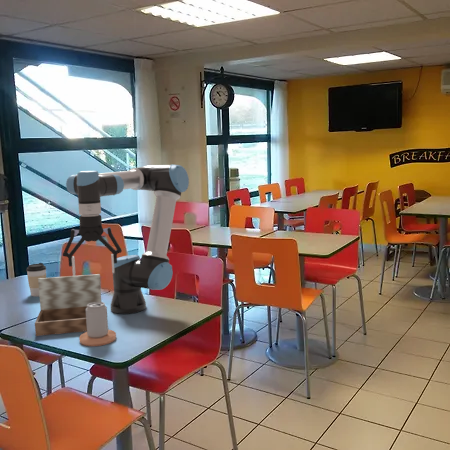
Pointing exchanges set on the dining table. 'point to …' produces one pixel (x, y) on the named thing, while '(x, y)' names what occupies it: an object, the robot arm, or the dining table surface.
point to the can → (96, 320)
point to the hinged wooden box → (66, 303)
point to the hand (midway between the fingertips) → (93, 273)
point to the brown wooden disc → (97, 339)
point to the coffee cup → (35, 277)
